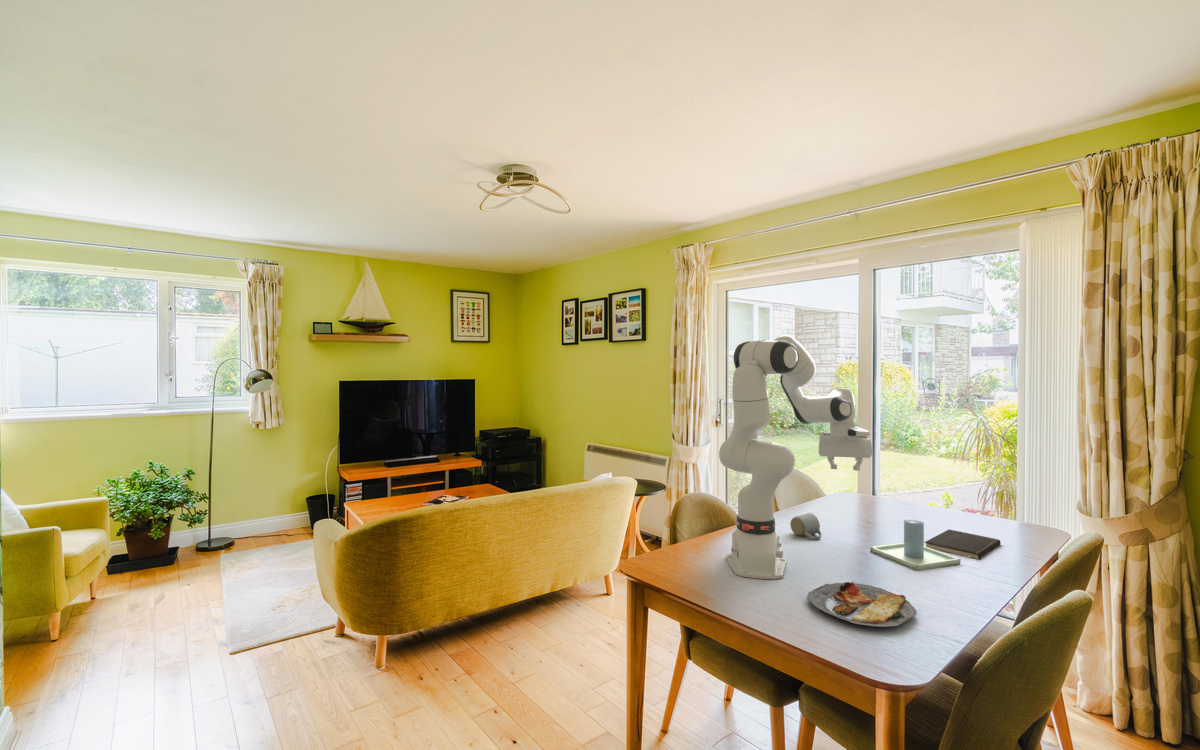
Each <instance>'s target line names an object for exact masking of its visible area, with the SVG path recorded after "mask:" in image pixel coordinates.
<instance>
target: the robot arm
mask: <svg viewBox="0 0 1200 750" xmlns="http://www.w3.org/2000/svg"><path fill="white" fill-rule="evenodd" d="M733 364H734V367H735V369H734V372H733V375H732V376H733V377H732V386H731V387H732V404H733V405H732V406H733V427H732V430H731V432H730V435H729V436H728V438H726V440H725V441H723V443H722V444H721V445H720V447H719V451H718V457H719V460H720V463H721V465H722V466H723V467H724V468H725V467H726V468H727V469H729V470H732V471H734V472H737V473H738V472H739V473H744V474H750V475H751V481H750V483H749V484H748V485H745V486H743V487H742V488H741V489H740V490H739V491H738V494H737V515H736V519H735V522H736V529H734V531H732V533H731V553H727V554H726V555H725V559H726V562H727V564H728V565H729V566H730V568H731V570H732V572H733V573H734V574H735V575H737V576H739V577H745V578H749V579H750V578H752V579H761V580H777V579H778V580H779V579H783V578H784V576H785V571H786V566H787V559H786V558H784V555H783V554H784V553H783V552H784V551H783V550H782V549H780V548H782V542H780V535H779V534H778V533H777V532H776V520H775V517H774V507H775V506H774V505H775V494H776V492H777V488H778V486H779V484H781V482H782V481H783V479H785V478H787V477H788V476H790V475H791V473H792V471H793V470H794V468H795V464H796V459H795V455H794V453H793V450H792V449H791V448H790V447H789V446H787V445H783V444H780V443H777V442H772V441H764V440H759V439H758V434H759V431H760V430H762V429H764V428H765V427H767V425H768V424H769V423H770V421H771V413H770V412H771V411H770V401H769V398H770V397H769V392H768V391H769V389H768V384H767V376H768V375H776V374H779V375H780V377H779V381H780V384H781V389H782V390H783V391H784V393H785V396H786V398H787V400H788V401H789V403H790V405H791V407H792V409H793V414H794V416H795V418H796V419H797V420H798V421H799V422H800V423H802V424H803V425H809V424H810V425H811V424H817V423H818V424H820V423H822V424H823V423H827V424H828V423H829V429H830V431H827V432H826V431H823V432H821V434H820V435H819V436H818V437H819V438H818V439H819V441H818V454H819V456H820V457H827V461H828V463H829V465H830V469H831V470H837V469H838V464H837V463H836V462H835V461H834V460H835V457H836V458H854V460H855V465H854V464H853V465H852V468H853V469H852V470H853V471H857V472H859V471H861V464H862V463H863V461H864V460H863V459H870V458H871V457H872V456H873V447H872V446H873V445H872V441H871V439H870V438H869V437H870V435H871V434H870V433H871V432H870V431H869V430H866V429H864V428H860V427H859V426H857V422H856V420H855V415H856V403H855V397H854V394H853V390H851V389H849V388H847V387H833V388H831V389H830V390H829V394H827V395H824V396H823V395H822V396H807V395H804V393H803V391H802V389H801V387H804V386H805V385H808V383H809V382H810V381H811V380H812V379H813V378H814V376H815V375H816V374H815V373H816V366H817V365H816V363H815V361H814V358H813V357H812V355H810V353H809V352H808V350H807V349H806V348H805V347H804V346H803V345H802V344H801V343H800V342H799V341H798V340H796V339H795V337H793V336H791V335H787V334H786V335H785V334H784V335H781V336H778V337H776V338H775V339H774V340H768V339H761V340H760V339H759V340H753V341H751V340H750V341H744V342H742V343H740V344H738V345H737V346H736V347H735V350H734V352H733Z"/></svg>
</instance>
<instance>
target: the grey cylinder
mask: <svg viewBox="0 0 1200 750" xmlns="http://www.w3.org/2000/svg"><path fill="white" fill-rule="evenodd" d="M924 526H925V523H924V522H923V521H921V520H915V519H905V520H903V543H904V555H905V556H907V557H910V558H917V559H921V558H924V546H925V534H924V533H925V527H924Z"/></svg>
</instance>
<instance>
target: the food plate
mask: <svg viewBox="0 0 1200 750" xmlns="http://www.w3.org/2000/svg"><path fill="white" fill-rule="evenodd" d="M906 598H907V597H906V596H905V595H903V594H896V593H893V592H891V591H888V590H886V589H883V588H881V587H876V586H873V585H869V584H862V583H856V582H853V581H851V582H850V581H848V582H834V583H825V584H823V585H821V586H818V587H816V588H815V589H813V590H811V591H809V592H808V593H807V600H808V602H809V603H811V604H812V605H813V606H814V607H815V608H817V609H818V610H819V611H823V612H824V613H825V614H829V615H831V616H833V617H836V618H837V619H840V620H844V621H847V622H849V623H851V624H857V625H863V626H867V627H898V626H900V625H902V624H903V623H905V622H908V621H909V620H910V619H912V618H913V617H914V616H916V615H917V610H916V608H915V607H914V606H913V605H912V604H911V603H910V601H909V600H907V599H906ZM830 601H833V602H834V605H835V606H833V607H832V610H830V608H829V609H828V606H827V605H828V603H827V602H830ZM852 613H857V614H855V615H853V617H852V618H851V619H850V618H848V617H846V616H849V615H850V614H852Z"/></svg>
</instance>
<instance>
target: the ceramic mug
mask: <svg viewBox="0 0 1200 750" xmlns="http://www.w3.org/2000/svg"><path fill="white" fill-rule="evenodd" d="M790 529H791V531H792V533H793V534H794V535H796V536H798V535H799V536H798V537H805V536H806V537H807V538H809V539H811V540H814V539H818V540H820V539H821V537H822V532H821V530H820V529H821V524H820V521H819V519H818V517H817V515H815V514H814V513H811V512H808V513H805V514H800V515H796V516H795V517H793V518H792V519H791V520H790ZM815 534H818V536H817V535H816V536H815Z"/></svg>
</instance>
